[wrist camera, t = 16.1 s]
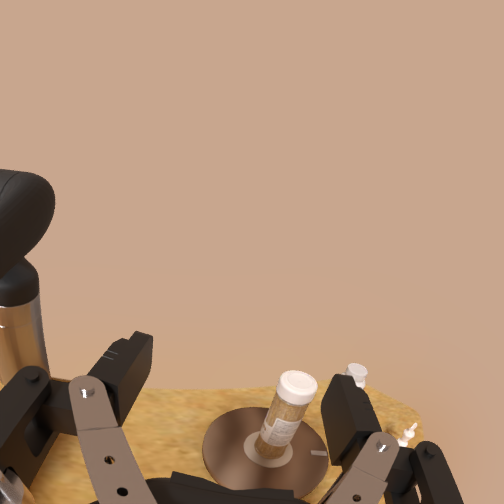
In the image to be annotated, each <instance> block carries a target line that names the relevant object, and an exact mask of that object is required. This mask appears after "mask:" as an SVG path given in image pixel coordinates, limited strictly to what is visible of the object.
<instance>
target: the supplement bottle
mask: <svg viewBox="0 0 504 504" xmlns="http://www.w3.org/2000/svg"><path fill="white" fill-rule="evenodd" d="M367 373H368V371H367V369H366V368H365V367H364V366H362V365H360V364H357V363H351V364H349V365H348V367H347V369H346V372H344V373H342V374H343V375H351V376H353V378H354V381H355V383H356V386H357V387H361V388H362V389H364V387H365V380H364V379H365V377H366V376H367Z"/></svg>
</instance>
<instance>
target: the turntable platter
mask: <svg viewBox="0 0 504 504" xmlns="http://www.w3.org/2000/svg"><path fill="white" fill-rule="evenodd" d="M268 410H269V408H260V407H249V408H240V409H236V410H232V411H230V412H227V413H225V414H223V415H221V416H220V417H218V418H217V419H216V420H215V421H214V422H212V424H211V425H210V426H209V428H208V430H207V431H206V434H205V437H204V441H203V448H202V454H203V460H204V463H205V466H206V468H207V470H208V472H209V473H210V475H211V476H212V477H213V479H214V480H215V481H216V482H217V483H218V484H219V485H221V486H223V487H226V488H229V489H232V490H246V489H258V488H272V489H286V490H294V498H298V499H301V498H302V497H304V496H306V495H308V494H309V493H310V492H312V491H313V490H314V489H315V488H316V487H317V486H318V484H319V483H320V482H321V480H322V479H323V478H324V476H325V474H326V472H327V468H328V460H329V459H328V452H327V449H326V446H325V444H324V442H323V441H322V439H321V437H320V436H319V435H318V434H317V433H316V432H315V431H314V430H313V429H312V428H311V427H310V426H309V425H307V424H306V423H305V422H303V421H302V420H301V422H300V424H299V426H298V428H297V430H296V432H295V434H294V436H293V438H292V439H291V441H290V443H289V444H288V446H287V447H286V451H285V453H284V455H283V456H282V457H280V458H278V459H267V458H264V457H262V456H260V455H259V454H258V453H257V452H256V450H255V447H254V443H255V441H256V439H257V438H258V436H259V433H260V430H261V427H262V425H263V423H264V420H265V418H266V415H267V413H268Z"/></svg>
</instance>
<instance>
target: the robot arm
mask: <svg viewBox="0 0 504 504" xmlns="http://www.w3.org/2000/svg"><path fill="white" fill-rule="evenodd" d="M54 209H55V194H54V191H53V189H52V186H51V185H50V184H49V182H48V181H47V180H46V179H44V178H43V177H41V176H39V175H36V174H34V173H28V172H21V171H14V170H5V169H0V381H1V383H3V384H4V387H3V389H2V390H1V391H0V504H35V501H34V498H33V496H32V494H31V492H30V491H29V490H28V489H29V487H30V485H31V483H32V481H33V479H34V478H35V476H36V474H37V472H38V470H39V468H40V466H41V465H42V463H43V461H44V459H45V457H46V455H47V454H48V452H49V450H50V448H51V447H52V445H53V443H54V441H55V440H56V438H57V436H58V435H59V433H64V434H70V435H75V436H78V439H79V443H80V446H81V450H82V454H83V457H84V460H85V464H86V467H87V470H88V473H89V476H90V479H91V482H92V485H93V488H94V491H95V493H96V496H97V499H98V500H97V501H95V502H92V503H90V504H310V503H308V502H306V501H303V500H301V499H298V498H294V490H286V489H272V488H258V489H246V490H232V489H229V488H226V487H223V486H221V485H218V484H216V483H213V482H211V481H208V480H206V479H204V478H200V477H195V476H191V475H187V474H183V473H179V472H175V471H173V472H172V475H171V478H151V479H147V480H145V479H144V477H143V475H142V473H141V471H140V469H139V467H138V465H137V463H136V460H135V458H134V456H133V454H132V451H131V449H130V447H129V444H128V442H127V440H126V437H125V435H124V432H123V430H122V428H121V427H122V425H123V423H124V421H125V419H126V417H127V415H128V413H129V411H130V409H131V408H132V406H133V404H134V402H135V400H136V398H137V396H138V394H139V392H140V391H141V389H142V387H143V385H144V383H145V381H146V379H147V377H148V375H149V373H150V369H151V364H152V348H153V336H151V335H148V334H145V333H141V332H138V331H135V332H134V334H133V335H132V336H131V337H130V339H129V340H127V339H123V338H122V339H119V340H118V341H115V342H113V343H112V345H111V346H110V347H109V348H108V350H107V351H106V352H105V353H104V354H103V357H101V358H100V359H99V360H98V362H97V363H96V364H95V365H94V367H93V368H92V369H91V370H90V372H89V373H88V374H87V375H86V376H79V377H76V378H74V379H73V380H72V381H71V382H70V383H67V382H60V381H55V380H51V376H50V371H49V365H48V359H47V354H46V347H45V341H44V333H43V326H42V316H41V306H40V292H39V278H38V273H37V271H36V269H35V268H34V267H33V266H32V265H31V264H30V263H29V262H28V261H27V260H26V259H25V258H24V256H25V255H26V254H27V253H28V252H30V251H31V250H32V249H33V248H34V247H35V245H36V244H37V243H38V242H39V241H40V240H41V238H42V237H43V235H44V234H45V232H46V231H47V229H48V227H49V225H50V222H51V220H52V217H53V214H54ZM370 403H371V402H370V400H369V397H368V395H367V394H366V393H365V391H364V390H363V389H362V388H361V387H357V386H356V383H355V381H354V378H353V376H351V375H343V374H335V375H334V377H333V378H332V380H331V383H330V385H329V387H328V389H327V391H326V393H325V395H324V397H323V399H322V402H321V414H322V419H323V424H324V429H325V434H326V439H327V444H328V449H329V454H330V459H331V465H332V466H342V470H343V472H342V473H341V474H340V475H339V477H338V478H337V479H336V481H335V482H334V484H333V485H332V486H331V488H330V489H329V490H328V491H327V493H326V494H325V495H324V497H323V498H322V499H321V500H320V501H319V503H318V504H378V502H379V501H380V499H381V497H382V495H383V494H384V498H385V503H386V504H464V503H463V500H462V498H461V495H460V493H459V490H458V488H457V485H456V483H455V480H454V478H453V476H452V473H451V471H450V469H449V466H448V464H447V462H446V459H445V457H444V455H443V453H442V451H441V449H440V448H439V447H438V446H437V445H436V444H434V443H432V442H429V441H422V442H420V443H419V444H418V445H417V446H416V447H415V448H414V449H412V448H407V447H402V446H399V443H398V441H397V440H396V439H395V438H394V437H393V436H392V435H390V434H388V433H385V432H382V429H381V427H380V424H379V422H378V419H377V417H376V414H375V412H374V411H373V407H372V405H371V404H370ZM417 484H418V487H419V490H420V493H421V503H420V502H419V498H418V495H417V492H416V488H415V486H416V485H417Z"/></svg>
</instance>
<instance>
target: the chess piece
mask: <svg viewBox="0 0 504 504" xmlns="http://www.w3.org/2000/svg"><path fill="white" fill-rule="evenodd" d="M416 427H417V423H414V425H413V426H412V427H411V428H410V429H405V430H404V432H403V436H402V438H398V439H397V441H398V443H399V446H402V447H406V446H407V444H408V442H407V441H408V440H409V439H411V438H412V437H414V435H415V433H414V431H413V430H414V429H415V428H416Z"/></svg>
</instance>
